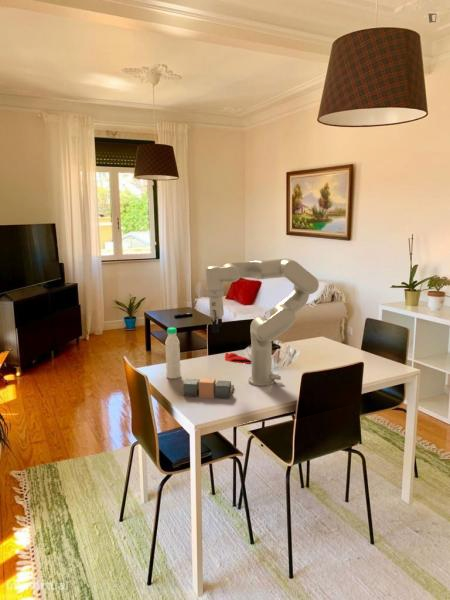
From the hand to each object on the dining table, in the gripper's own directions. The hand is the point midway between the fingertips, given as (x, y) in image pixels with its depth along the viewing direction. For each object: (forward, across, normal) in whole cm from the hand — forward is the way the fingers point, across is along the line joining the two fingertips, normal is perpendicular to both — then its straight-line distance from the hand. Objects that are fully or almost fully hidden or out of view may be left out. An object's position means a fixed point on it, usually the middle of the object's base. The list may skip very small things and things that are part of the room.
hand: (217, 329), depth 210 cm
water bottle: (+27, +8, +25) cm, 37 cm away
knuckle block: (+27, -13, +3) cm, 30 cm away
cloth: (+28, +40, -3) cm, 49 cm away
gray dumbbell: (+27, -10, +3) cm, 29 cm away
